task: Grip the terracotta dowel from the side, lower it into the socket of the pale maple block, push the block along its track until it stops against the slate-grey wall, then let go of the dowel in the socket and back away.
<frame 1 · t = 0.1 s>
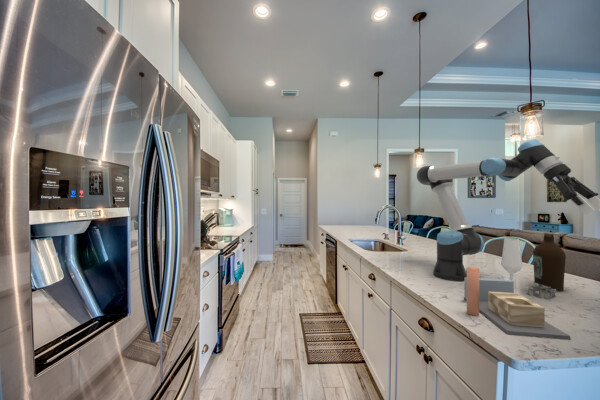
hand: (598, 212, 90), 36 cm above the worktop, tool tilted 35°, fingers open, 13 cm apart
dowel: (472, 313, 86), on the worktop
socket block: (514, 307, 81), point 4 cm above the worktop, slide at 0.0 cm
olive oil: (548, 288, 113), on the worktop
egg carton: (540, 295, 104), on the worktop
mat: (507, 316, 84), on the worktop
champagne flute: (511, 297, 102), on the worktop
wall: (488, 289, 95), on the mat, point 5 cm above the worktop
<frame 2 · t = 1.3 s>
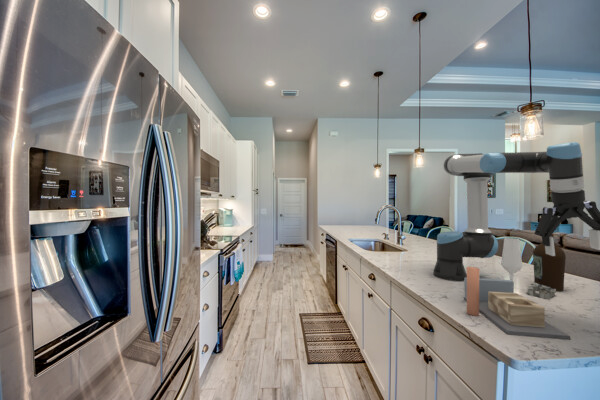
hand: (572, 251, 83), 23 cm above the worktop, tool pointing down, fingers open, 13 cm apart
nothing on the worktop moved.
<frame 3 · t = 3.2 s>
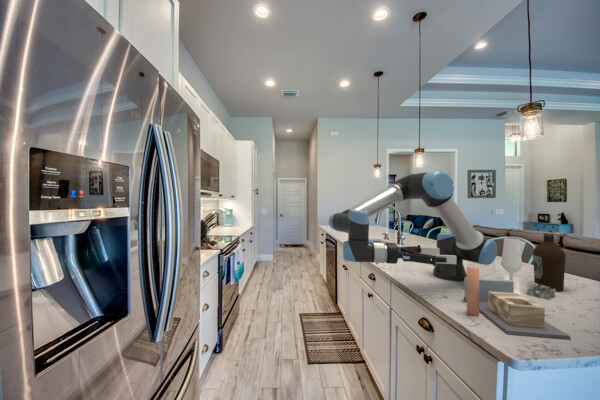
hand: (447, 255, 87), 20 cm above the worktop, tool horizontal, fingers open, 13 cm apart
nothing on the worktop moved.
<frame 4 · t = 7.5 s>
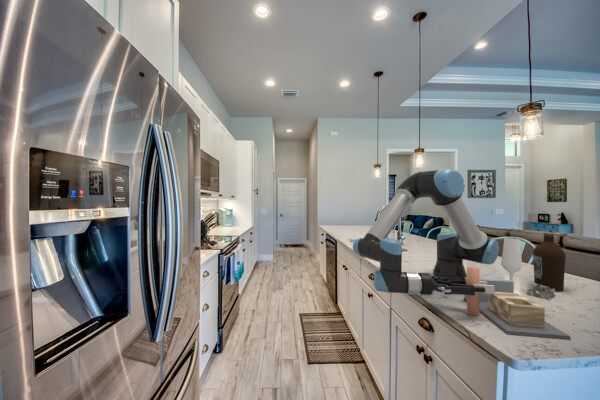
hand: (490, 287, 85), 10 cm above the worktop, tool horizontal, fingers closed on dowel, 3 cm apart
dowel: (472, 313, 86), on the worktop, touching gripper
everything else where it was.
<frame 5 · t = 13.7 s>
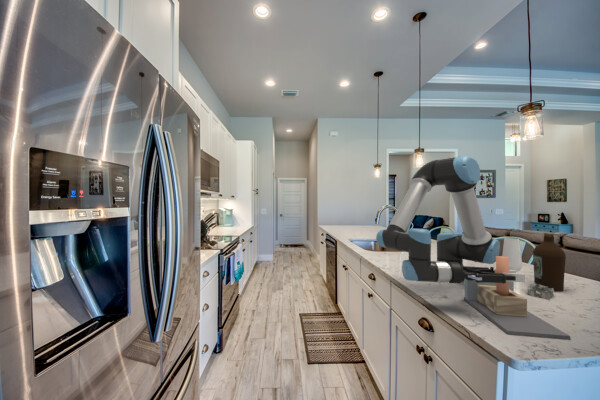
hand: (519, 276, 86), 13 cm above the worktop, tool horizontal, fingers closed on dowel, 4 cm apart
dowel: (502, 302, 87), point 4 cm above the worktop, touching gripper, socket block
socket block: (500, 299, 88), point 4 cm above the worktop, slide at 7.1 cm, touching dowel, wall
everything else where it was.
when the fingers open (13 cm above the worktop, at t = 14.8 s): dowel drops 2 cm, resting on socket block.
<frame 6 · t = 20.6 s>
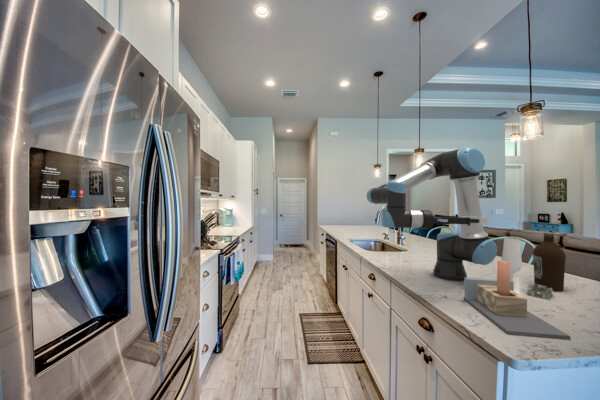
hand: (481, 220, 98), 32 cm above the worktop, tool horizontal, fingers open, 7 cm apart
dowel: (503, 306, 86), point 2 cm above the worktop, touching socket block
socket block: (500, 299, 88), point 4 cm above the worktop, slide at 7.1 cm, touching dowel
everything else where it was.
at the end: socket block slide at 7.1 cm; dowel 0.4 cm from the target spot, point 2.1 cm above the worktop; dowel tilted 0° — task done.
